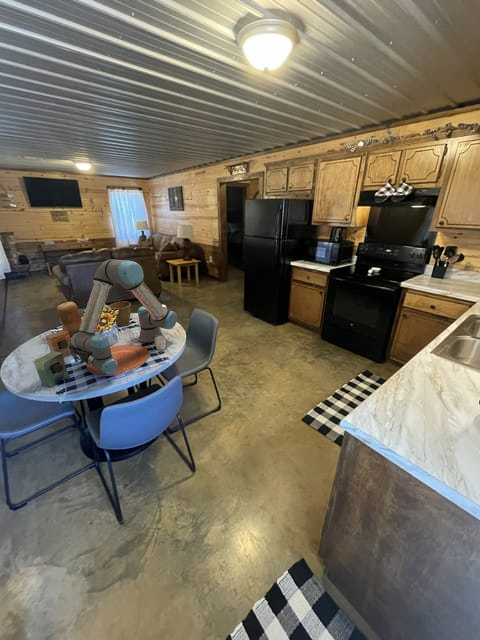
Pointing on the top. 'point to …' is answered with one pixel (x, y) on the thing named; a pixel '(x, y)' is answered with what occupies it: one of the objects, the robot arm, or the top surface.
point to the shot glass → (160, 342)
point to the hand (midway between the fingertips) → (71, 347)
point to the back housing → (56, 338)
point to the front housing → (45, 370)
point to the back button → (63, 344)
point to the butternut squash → (69, 317)
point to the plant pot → (122, 312)
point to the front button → (57, 368)
